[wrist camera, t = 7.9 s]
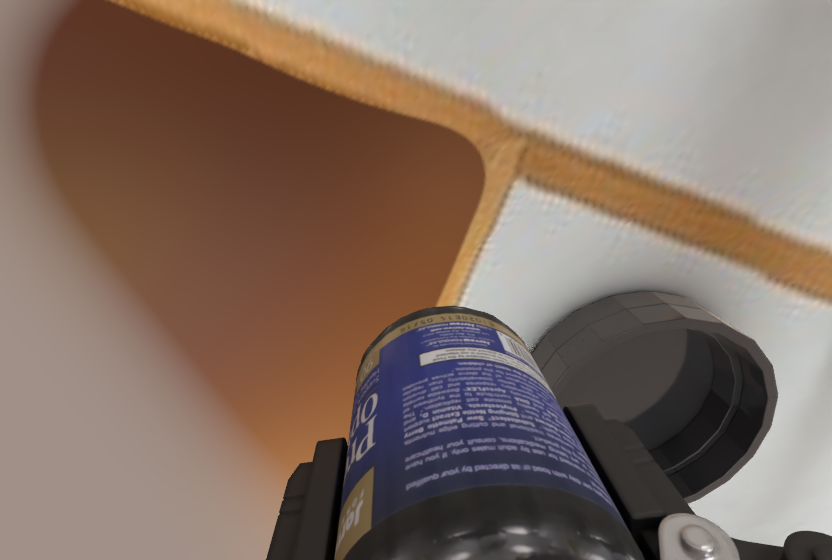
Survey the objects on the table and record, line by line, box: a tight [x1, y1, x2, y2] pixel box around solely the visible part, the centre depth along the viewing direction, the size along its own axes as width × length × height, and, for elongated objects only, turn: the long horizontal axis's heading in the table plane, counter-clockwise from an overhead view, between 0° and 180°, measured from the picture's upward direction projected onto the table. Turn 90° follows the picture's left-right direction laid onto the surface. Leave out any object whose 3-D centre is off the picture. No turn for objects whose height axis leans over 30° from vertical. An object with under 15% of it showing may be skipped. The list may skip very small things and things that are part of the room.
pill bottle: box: [334, 306, 645, 560], centre depth 10 cm, size 6×6×11 cm
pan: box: [531, 291, 778, 504], centre depth 31 cm, size 16×16×5 cm
